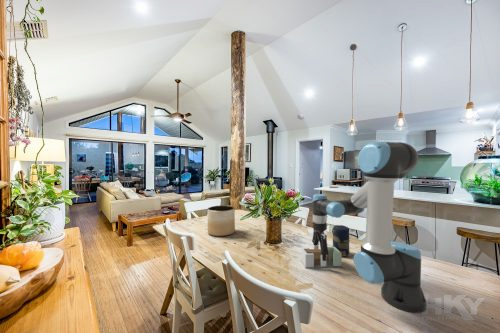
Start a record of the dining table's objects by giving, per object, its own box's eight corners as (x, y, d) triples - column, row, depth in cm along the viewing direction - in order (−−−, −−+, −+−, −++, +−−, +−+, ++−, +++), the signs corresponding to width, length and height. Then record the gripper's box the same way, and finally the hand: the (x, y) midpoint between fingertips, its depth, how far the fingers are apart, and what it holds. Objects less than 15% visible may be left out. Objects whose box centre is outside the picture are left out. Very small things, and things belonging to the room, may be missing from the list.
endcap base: (342, 267, 117) (342, 253, 117) (305, 268, 117) (305, 254, 117) (334, 259, 127) (334, 247, 126) (300, 260, 126) (301, 247, 126)
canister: (351, 258, 129) (351, 228, 128) (334, 256, 131) (334, 227, 130) (347, 251, 138) (347, 223, 138) (331, 250, 140) (331, 222, 140)
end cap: (341, 265, 118) (341, 253, 117) (333, 266, 117) (333, 253, 117) (334, 258, 126) (334, 246, 126) (327, 258, 126) (327, 246, 126)
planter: (212, 227, 189) (212, 205, 188) (237, 228, 186) (237, 205, 185) (203, 236, 167) (203, 210, 166) (231, 237, 164) (231, 211, 163)
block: (328, 264, 120) (328, 252, 119) (306, 264, 120) (306, 251, 120) (326, 261, 124) (326, 249, 123) (305, 261, 124) (305, 249, 124)
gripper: (335, 228, 110) (335, 271, 110) (318, 216, 133) (318, 252, 133) (320, 228, 109) (320, 271, 110) (306, 216, 133) (306, 252, 133)
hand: (319, 260), depth 122 cm, fingers open, 11 cm apart
